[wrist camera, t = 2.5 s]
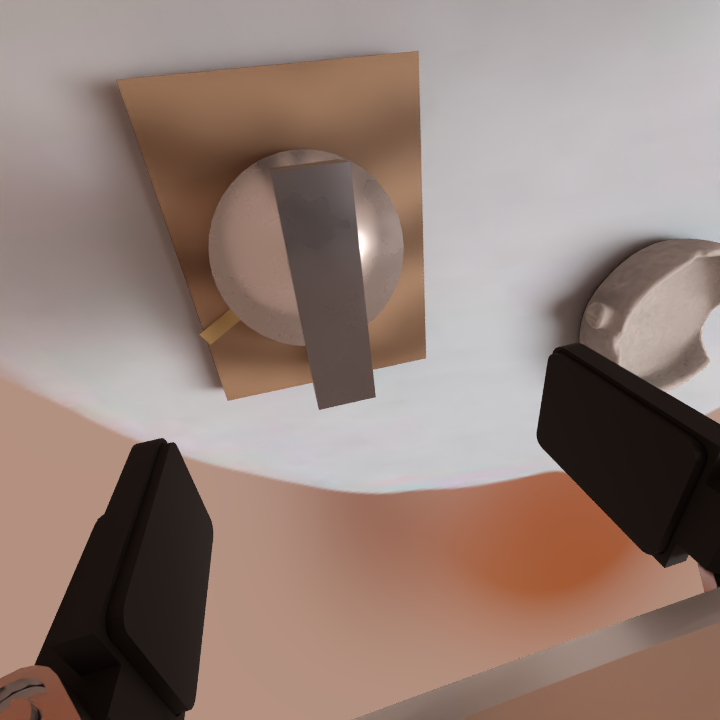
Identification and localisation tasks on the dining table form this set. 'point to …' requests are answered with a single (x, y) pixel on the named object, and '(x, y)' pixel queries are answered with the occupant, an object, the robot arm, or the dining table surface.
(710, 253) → the dish
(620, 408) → the robot arm
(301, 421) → the dining table surface
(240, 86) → the dial stand
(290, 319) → the door handle
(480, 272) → the dining table surface
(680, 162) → the dining table surface
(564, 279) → the dining table surface
